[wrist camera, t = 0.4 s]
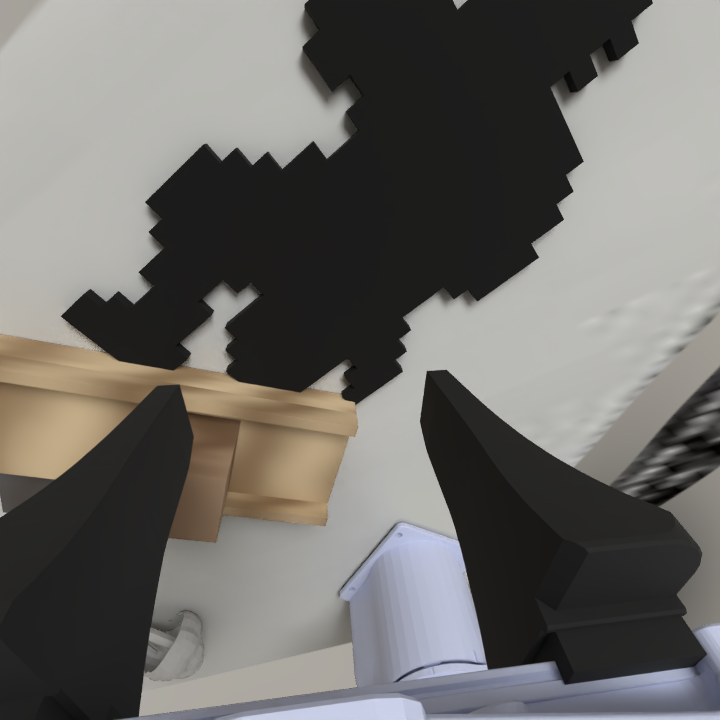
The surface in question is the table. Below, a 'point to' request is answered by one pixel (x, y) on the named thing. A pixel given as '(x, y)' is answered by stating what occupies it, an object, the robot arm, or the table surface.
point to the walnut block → (206, 478)
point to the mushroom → (175, 650)
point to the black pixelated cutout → (374, 191)
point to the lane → (201, 396)
